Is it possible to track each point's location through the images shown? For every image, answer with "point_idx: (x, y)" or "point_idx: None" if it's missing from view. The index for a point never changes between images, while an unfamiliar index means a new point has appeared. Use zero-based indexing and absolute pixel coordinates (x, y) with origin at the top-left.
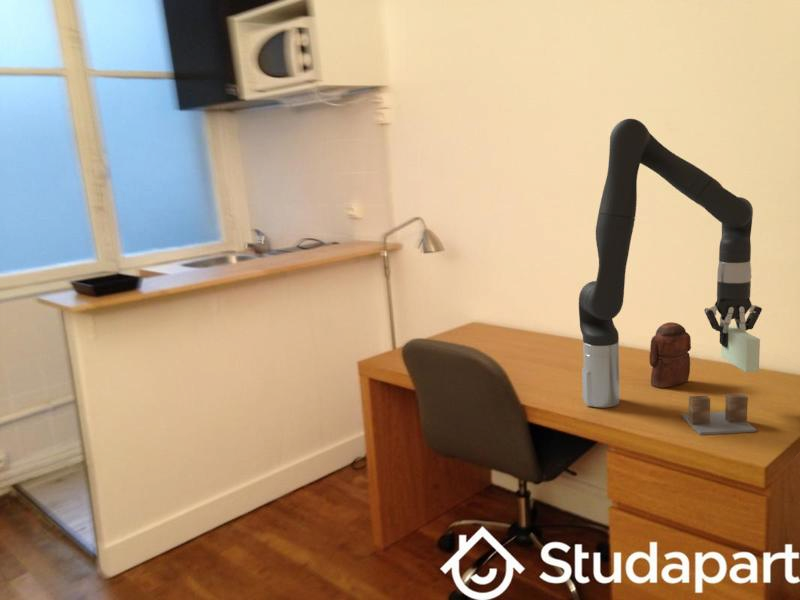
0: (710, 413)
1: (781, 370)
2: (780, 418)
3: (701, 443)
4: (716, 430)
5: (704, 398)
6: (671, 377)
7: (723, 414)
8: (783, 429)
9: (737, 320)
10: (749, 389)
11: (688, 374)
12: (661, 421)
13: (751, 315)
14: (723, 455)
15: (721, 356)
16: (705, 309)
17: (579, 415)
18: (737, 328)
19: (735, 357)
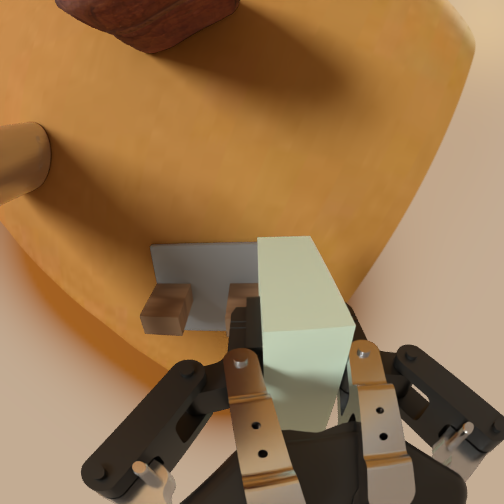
0: (209, 251)
1: (463, 22)
2: (342, 276)
3: (166, 350)
4: (197, 327)
5: (170, 331)
6: (169, 38)
7: (235, 259)
8: None
9: (346, 419)
10: (371, 92)
11: (236, 1)
12: (113, 264)
13: (435, 426)
14: None
15: (257, 239)
16: (88, 481)
17: (9, 222)
18: (333, 380)
19: None
